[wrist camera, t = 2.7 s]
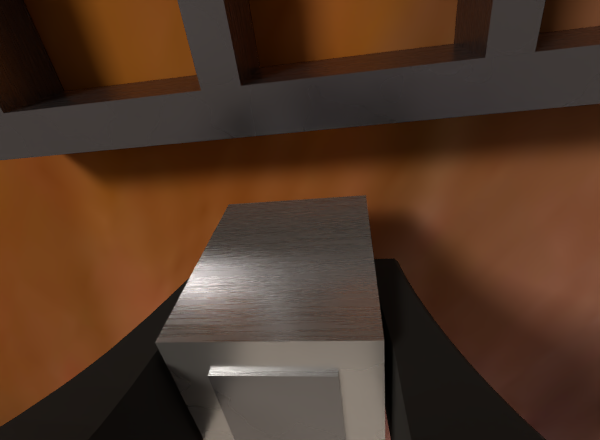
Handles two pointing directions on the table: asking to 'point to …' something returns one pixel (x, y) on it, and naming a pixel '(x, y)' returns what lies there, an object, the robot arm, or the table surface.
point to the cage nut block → (282, 326)
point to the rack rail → (292, 82)
